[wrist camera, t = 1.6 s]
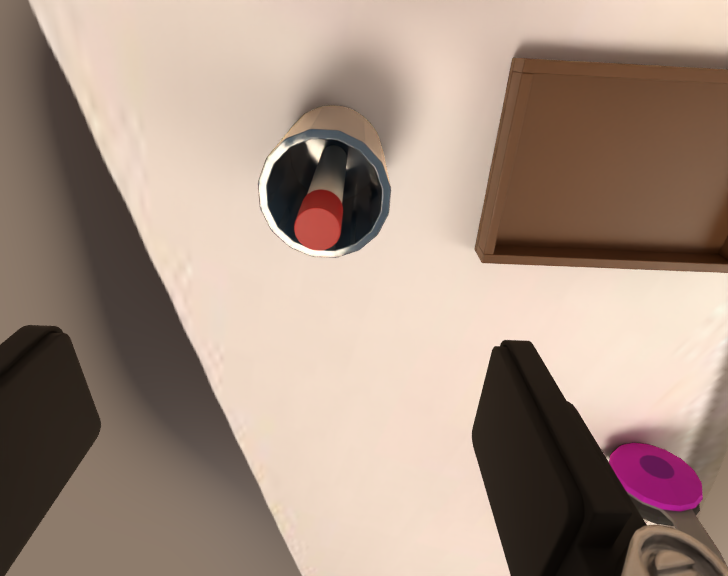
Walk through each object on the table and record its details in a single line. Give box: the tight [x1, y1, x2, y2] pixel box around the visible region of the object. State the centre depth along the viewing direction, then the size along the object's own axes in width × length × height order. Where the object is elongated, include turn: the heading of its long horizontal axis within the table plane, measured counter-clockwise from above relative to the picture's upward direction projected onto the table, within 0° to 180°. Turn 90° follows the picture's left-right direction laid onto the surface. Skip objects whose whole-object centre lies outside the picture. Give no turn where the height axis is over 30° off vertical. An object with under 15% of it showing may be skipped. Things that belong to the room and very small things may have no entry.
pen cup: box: [258, 105, 391, 258], centre depth 28 cm, size 7×7×10 cm
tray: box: [475, 58, 728, 273], centre depth 32 cm, size 15×22×3 cm
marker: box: [294, 145, 347, 251], centre depth 26 cm, size 2×2×14 cm
